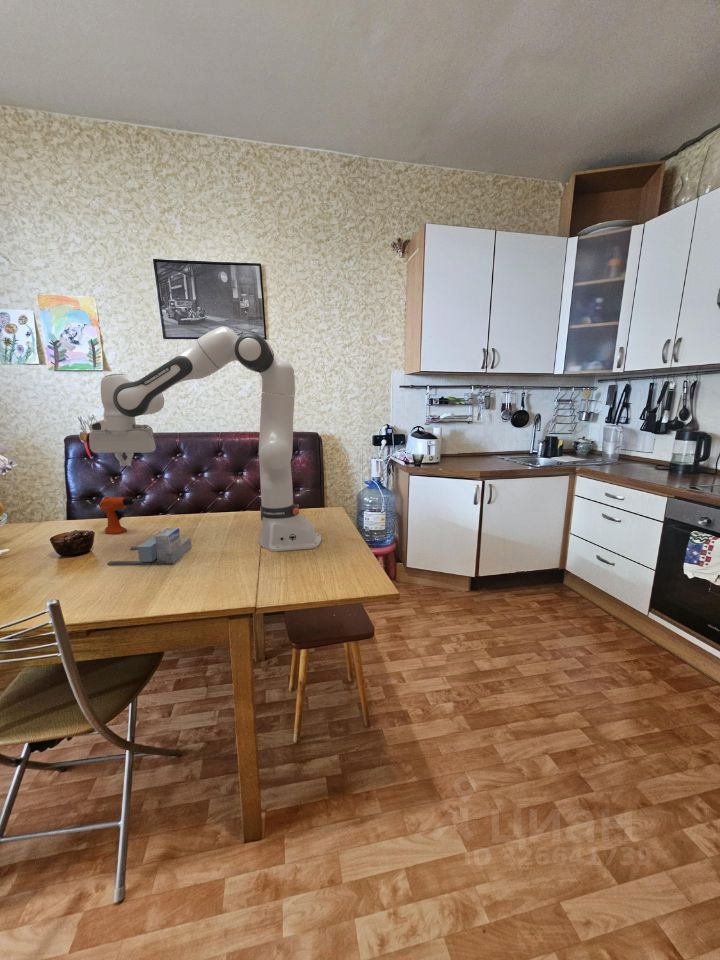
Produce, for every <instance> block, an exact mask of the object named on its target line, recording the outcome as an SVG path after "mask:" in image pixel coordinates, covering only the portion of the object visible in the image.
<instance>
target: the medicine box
mask: <svg viewBox="0 0 720 960" xmlns="http://www.w3.org/2000/svg"><path fill="white" fill-rule="evenodd" d="M160 532H161V533H159V532H158V533H159V534H158V535H156V534H155V535H156V536H155V540H156V549H157V558H156V559H157V561H166V556H165V553H166V552H167V551H169V550H170V549H171V548H172V547H174V546H175V545H176V544H177V543H179V542H180V541H181V532H180V528H179V527H167V528H165V529H164V530H162V531H160Z"/></svg>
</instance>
